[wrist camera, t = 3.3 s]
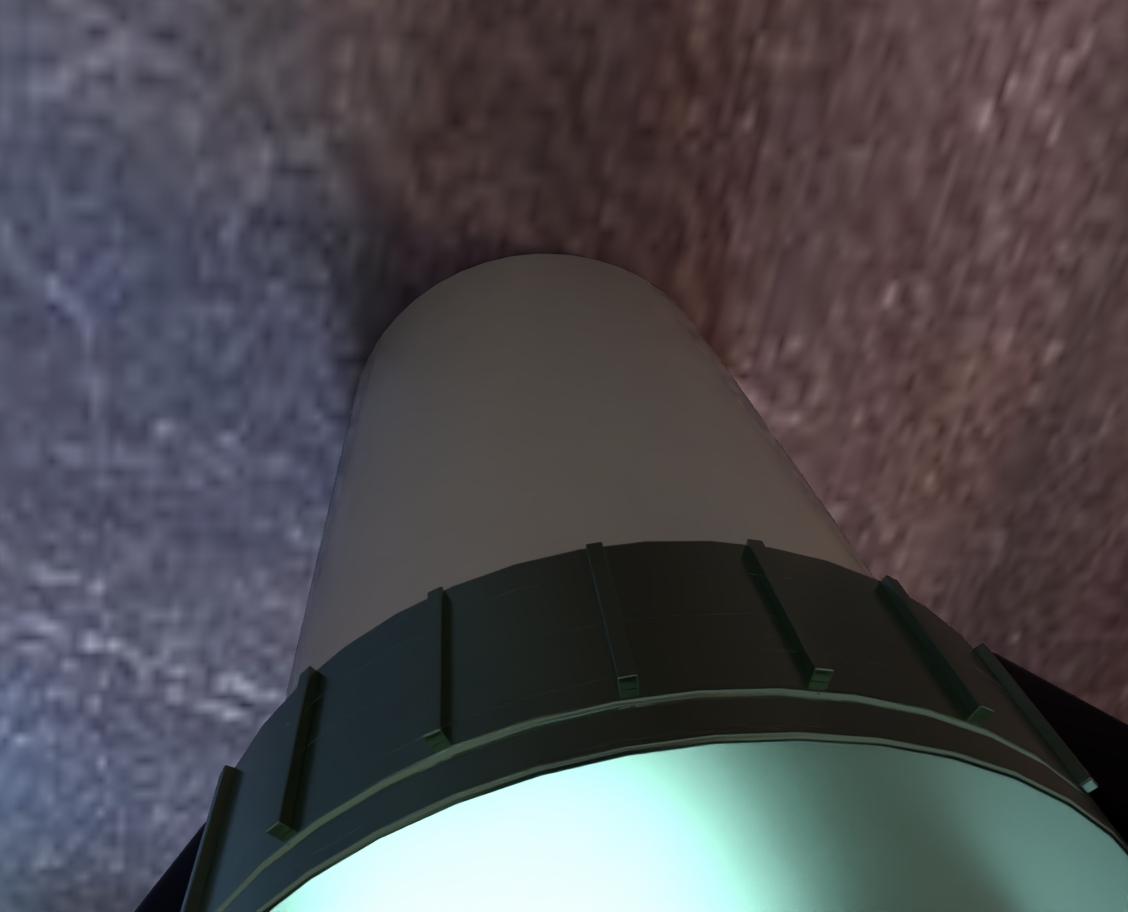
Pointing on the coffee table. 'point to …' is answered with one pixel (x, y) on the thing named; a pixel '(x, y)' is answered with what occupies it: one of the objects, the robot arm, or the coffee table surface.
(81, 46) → the coffee table surface
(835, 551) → the jar
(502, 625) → the jar lid
